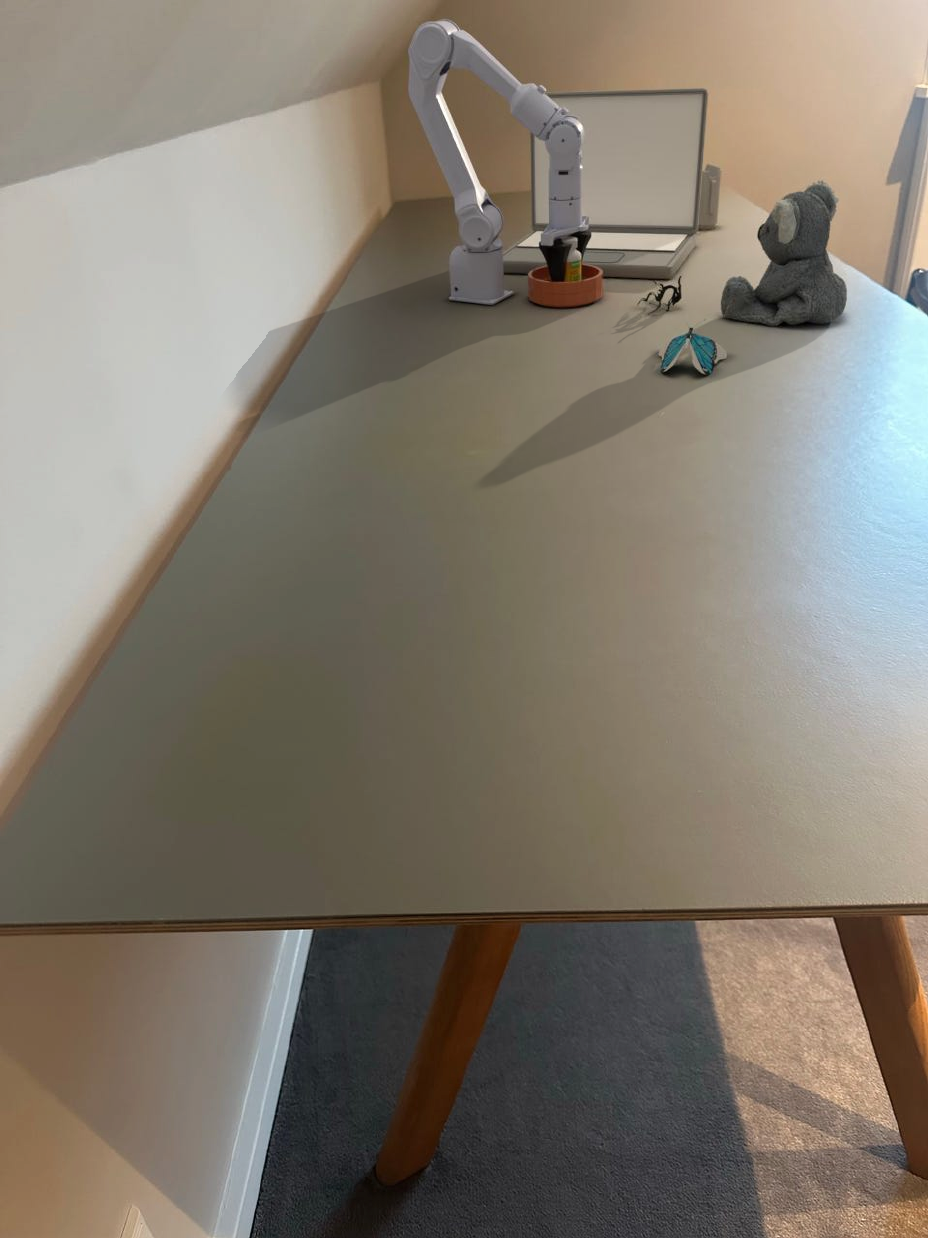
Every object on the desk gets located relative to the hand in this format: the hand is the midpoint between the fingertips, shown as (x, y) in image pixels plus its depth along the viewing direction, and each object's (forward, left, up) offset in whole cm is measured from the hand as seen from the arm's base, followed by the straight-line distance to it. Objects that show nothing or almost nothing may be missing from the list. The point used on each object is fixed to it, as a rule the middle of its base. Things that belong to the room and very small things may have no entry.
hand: (565, 279), depth 168 cm
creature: (+18, 0, -4) cm, 18 cm away
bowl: (0, 0, -3) cm, 3 cm away
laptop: (-7, +27, -4) cm, 29 cm away
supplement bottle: (0, 0, -3) cm, 3 cm away
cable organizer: (+1, +63, -4) cm, 63 cm away
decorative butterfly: (+33, -25, -4) cm, 41 cm away
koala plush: (+39, +4, -4) cm, 39 cm away
